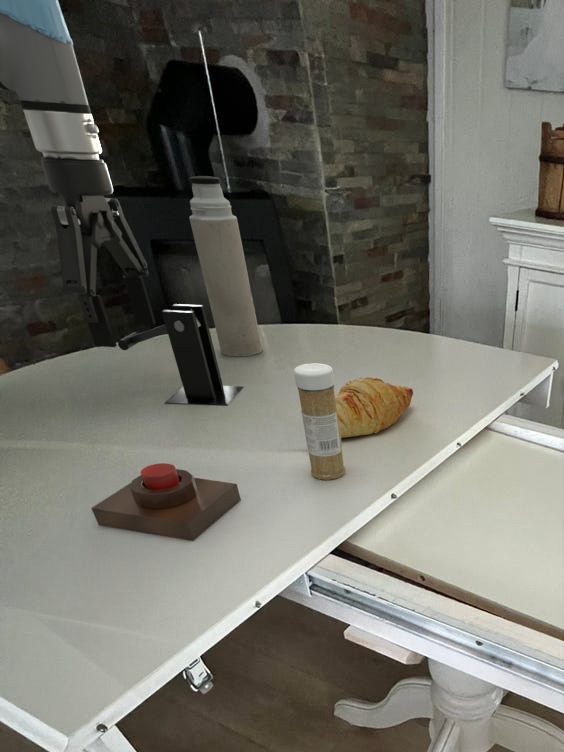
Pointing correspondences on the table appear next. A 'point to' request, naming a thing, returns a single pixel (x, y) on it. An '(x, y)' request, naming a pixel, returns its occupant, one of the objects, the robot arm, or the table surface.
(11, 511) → the table surface
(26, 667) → the table surface
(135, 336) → the lever
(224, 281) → the thermos bottle
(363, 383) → the croissant
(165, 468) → the button
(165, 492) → the button block
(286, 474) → the table surface
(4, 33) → the robot arm
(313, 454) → the spice jar
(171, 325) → the bracket
